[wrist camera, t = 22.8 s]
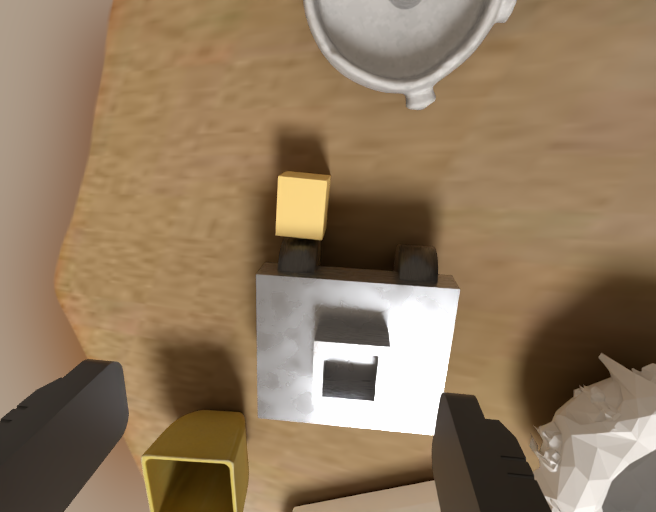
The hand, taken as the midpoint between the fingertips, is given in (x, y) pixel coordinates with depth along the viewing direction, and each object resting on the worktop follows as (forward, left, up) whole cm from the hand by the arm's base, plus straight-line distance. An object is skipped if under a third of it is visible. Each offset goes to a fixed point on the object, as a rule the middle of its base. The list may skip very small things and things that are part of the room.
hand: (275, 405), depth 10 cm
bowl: (-30, +21, -28) cm, 46 cm away
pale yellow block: (+3, 0, -28) cm, 28 cm away
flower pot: (+12, +27, -28) cm, 41 cm away
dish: (-4, -16, -28) cm, 33 cm away
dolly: (-2, +12, -28) cm, 30 cm away
